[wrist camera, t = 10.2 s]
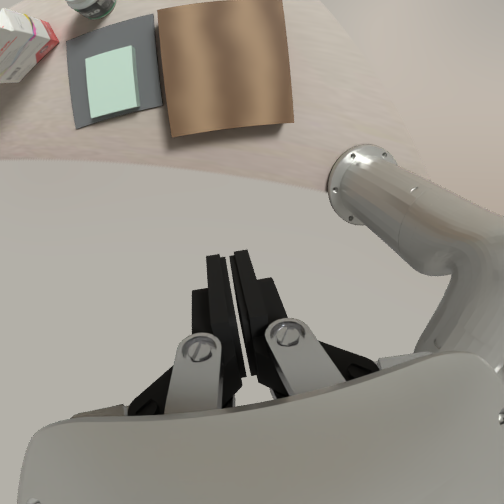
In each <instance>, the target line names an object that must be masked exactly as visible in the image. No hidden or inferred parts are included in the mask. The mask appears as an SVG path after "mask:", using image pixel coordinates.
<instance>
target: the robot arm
mask: <svg viewBox="0 0 504 504" xmlns="http://www.w3.org/2000/svg"><path fill="white" fill-rule="evenodd" d="M350 155H351V156H350ZM333 188H334V189H333ZM328 195H329V200H330V203H331V206H332V207H333V209H334V211H335V212H336V213H337V214H338V215H339V216H340V217H341V218H342V219H343V220H345V221H346V222H348V223H351V224H354V225H366V226H367V227H368V228H369V229H370V230H372V231H373V232H374V233H375V234H376V235H377V236H378V237H380V238H381V239H382V240H383V241H384V242H385V243H386V244H387V245H388V246H389V247H391V248H392V249H393V250H394V251H395V252H396V253H397V254H398V255H399V256H400V257H401V258H402V259H403V260H405V261H406V262H407V263H408V264H409V265H410V266H411V267H412V268H413V269H415V270H416V271H418V272H420V273H422V274H425V275H429V276H444V275H450V274H451V280H450V283H449V285H448V287H447V289H446V291H445V294H444V296H443V298H442V300H441V302H440V304H439V306H438V307H437V309H436V311H435V313H434V314H433V316H432V318H431V320H430V321H429V323H428V325H427V326H426V328H425V330H424V332H423V333H422V335H421V337H420V339H419V340H418V343H417V345H416V347H415V350H414V353H413V354H408V355H400V356H394V357H385V358H379V360H378V361H377V362H373V361H372V360H370V359H368V358H366V357H363V356H359V355H357V354H354V353H351V352H348V351H345V350H343V349H340V348H337V347H334V346H332V345H328V344H326V343H323V342H320V341H318V340H317V339H316V337H315V336H314V334H313V333H312V331H311V330H310V329H309V327H308V326H307V325H306V324H305V323H304V322H302V321H300V320H298V319H294V318H288V317H287V314H286V312H285V309H284V307H283V304H282V301H281V299H280V297H279V294H278V291H277V289H276V286H275V284H274V281H273V279H272V278H271V277H270V278H265V279H260V280H257V279H256V276H255V273H254V269H253V267H252V263H251V260H250V257H249V253H248V250H242V251H236V252H234V255H233V256H230V264H231V270H232V277H233V283H234V289H235V295H236V301H237V308H238V313H239V319H240V324H241V329H242V334H243V338H244V343H245V348H246V353H247V358H248V363H249V368H250V372H251V376H254V375H257V378H258V382H259V383H261V384H263V385H265V386H267V387H269V388H270V392H271V394H272V396H273V398H274V400H271V401H265V402H261V403H255V404H249V405H243V406H237V407H235V395H234V394H235V393H236V392H237V391H238V390H239V389H240V388H241V387H242V380H241V378H242V377H247V376H246V371H245V366H244V360H243V355H242V349H241V344H240V338H239V334H238V327H237V322H236V316H235V311H234V305H233V300H232V294H231V288H230V282H229V277H228V271H227V265H226V259H225V257H220V255H219V254H217V255H211V256H206V262H207V279H208V288H205V289H198V290H193V291H192V335H190V336H188V337H186V338H185V339H184V340H182V342H181V343H180V344H179V346H178V348H177V352H176V357H175V361H174V365H173V366H172V367H171V368H170V369H169V370H167V371H166V372H165V373H164V374H163V375H162V376H161V377H160V378H158V379H157V380H156V381H155V382H154V383H153V384H151V385H150V386H149V387H148V388H147V389H146V390H145V391H143V392H142V393H141V394H140V395H139V396H138V397H136V398H135V399H134V400H133V401H132V403H131V404H130V405H129V406H124V405H123V404H121V405H116V406H112V407H108V408H103V409H98V410H93V411H88V412H83V413H78V414H76V415H74V416H73V417H72V418H70V419H67V420H63V421H58V422H55V423H52V424H49V425H47V426H45V427H43V428H41V429H40V430H38V431H37V432H36V433H35V434H34V435H33V437H32V438H31V440H30V442H29V444H28V447H27V450H26V453H25V456H24V460H23V465H22V469H21V474H20V481H19V488H18V498H17V504H504V216H502V215H499V214H497V213H495V212H492V211H490V210H488V209H485V208H483V207H481V206H479V205H477V204H475V203H473V202H471V201H469V200H467V199H465V198H463V197H461V196H459V195H457V194H455V193H454V192H452V191H450V190H448V189H446V188H443V187H441V186H439V185H438V184H435V183H434V182H432V181H430V180H428V179H426V178H423V177H421V176H419V175H417V174H415V173H413V172H411V171H409V170H406V169H404V168H402V167H400V166H398V165H397V162H396V161H395V159H394V158H393V156H392V155H391V154H390V153H389V152H388V151H386V150H385V149H383V148H381V147H378V146H375V145H371V144H363V145H358V146H355V147H353V148H351V149H349V150H348V151H346V152H345V153H344V154H343V155H342V156H341V157H340V158H339V159H338V160H337V162H336V163H335V165H334V166H333V169H332V171H331V173H330V177H329V181H328Z"/></svg>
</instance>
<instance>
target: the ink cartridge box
mask: <svg viewBox="0 0 504 504" xmlns="http://www.w3.org/2000/svg"><path fill="white" fill-rule="evenodd" d="M58 43H59V41H58V39H57V37H56V35H55V34H54V32H53V30H52V28H51V26H50V24H49V23H47V22H45V21H42V20H39V19H37V18H34V17H31V16H28V15H25V14H22V13H19V12H16V11H13V10H9V9H5V8H3V9H1V10H0V83H18V82H20V81H21V80H22V79H23V78H24V76H25V75H26V74H27V73H28V72H29V71H30V70H31V69H32V68H33V67H34V66H35V65H36V64H37V63H38V62H39V61H40V60H41V59H42V58H43V57H44V56H45V55H46V54H47V53H48V52H49V51H50V50H51V49H53V48H54V47H55V46H56V45H57V44H58Z"/></svg>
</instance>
